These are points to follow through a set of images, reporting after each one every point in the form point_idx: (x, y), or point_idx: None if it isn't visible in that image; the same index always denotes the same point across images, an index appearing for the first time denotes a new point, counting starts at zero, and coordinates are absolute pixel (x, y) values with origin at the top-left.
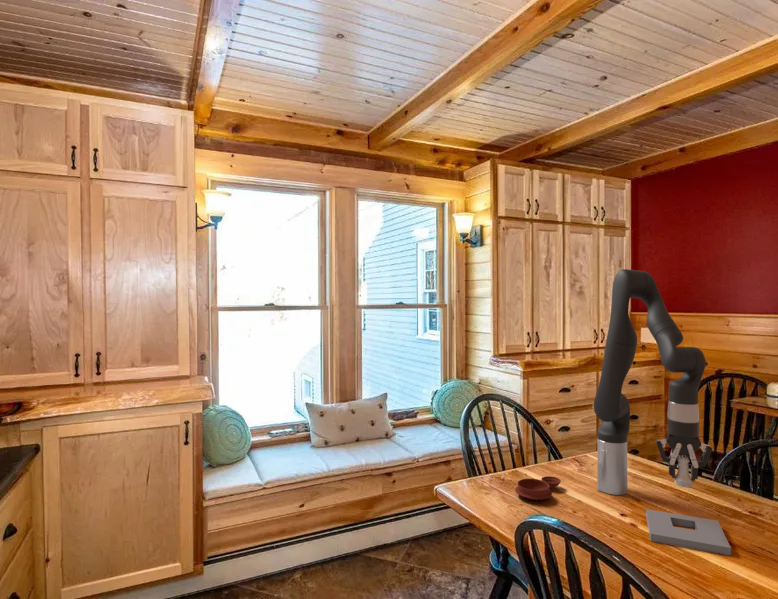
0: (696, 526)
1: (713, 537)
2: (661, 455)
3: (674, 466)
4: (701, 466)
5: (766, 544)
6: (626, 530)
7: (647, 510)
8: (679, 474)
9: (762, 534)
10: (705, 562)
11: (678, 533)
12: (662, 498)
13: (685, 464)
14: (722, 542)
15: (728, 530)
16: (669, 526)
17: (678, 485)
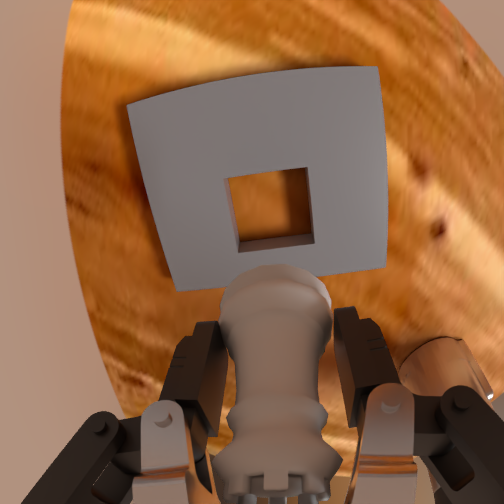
0: (230, 216)
1: (175, 151)
2: (501, 427)
3: (360, 380)
4: (127, 419)
5: (78, 239)
6: (435, 117)
7: (382, 260)
8: (306, 337)
9: (95, 291)
10: (203, 14)
11: (287, 113)
12: (320, 378)
13: (256, 422)
14: (149, 128)
15: (156, 276)
16: (319, 159)
17: (306, 273)
